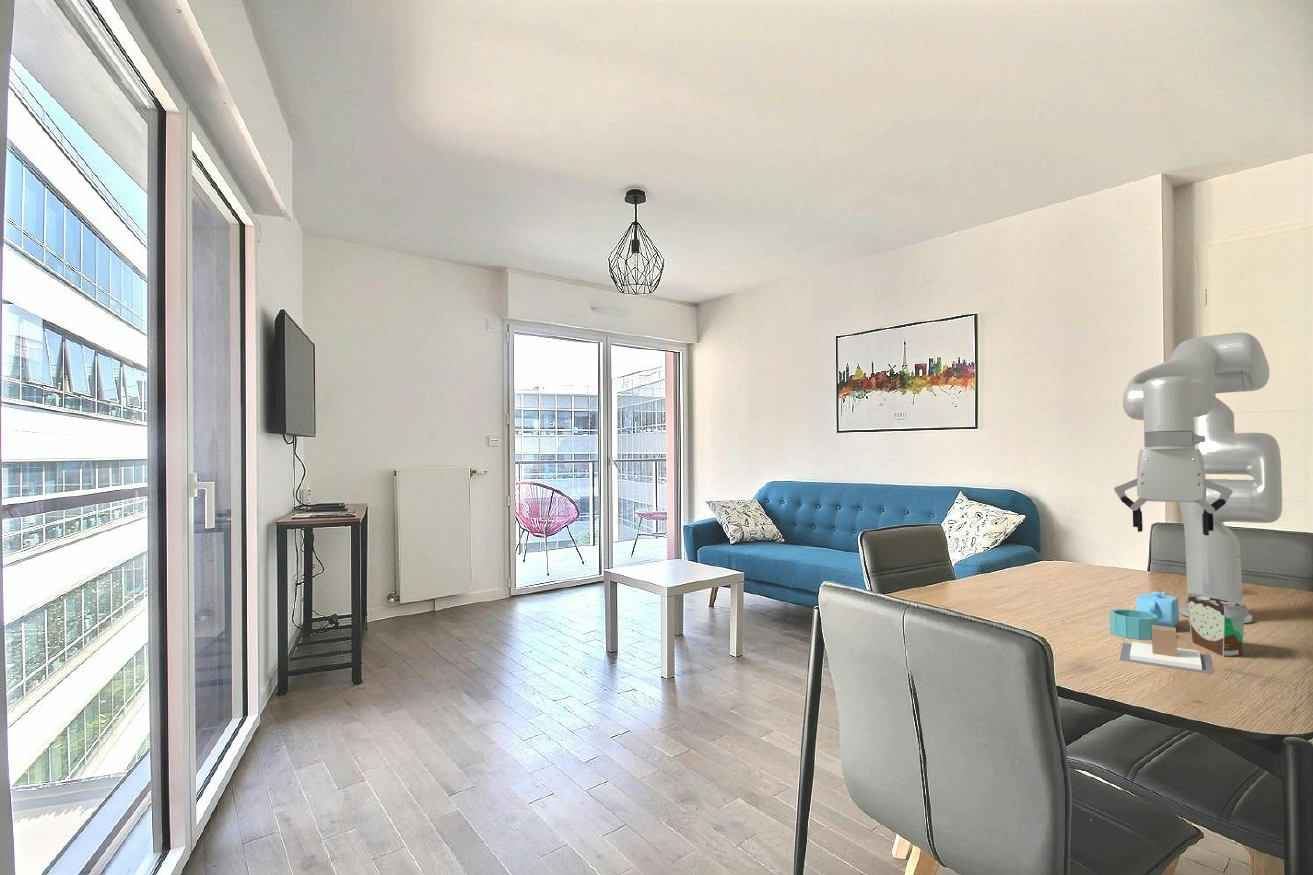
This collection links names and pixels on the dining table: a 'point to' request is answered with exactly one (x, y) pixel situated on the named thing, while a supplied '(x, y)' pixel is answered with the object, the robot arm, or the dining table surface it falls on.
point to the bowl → (1132, 623)
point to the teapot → (1160, 607)
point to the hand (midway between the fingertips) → (1172, 533)
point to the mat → (1204, 661)
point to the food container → (1217, 623)
